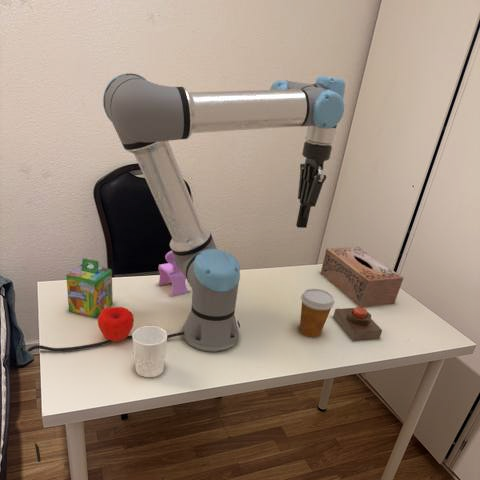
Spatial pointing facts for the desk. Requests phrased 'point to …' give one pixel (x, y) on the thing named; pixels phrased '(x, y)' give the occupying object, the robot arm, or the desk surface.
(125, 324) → the apple
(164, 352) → the white cup
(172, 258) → the toy chair
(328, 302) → the disposable coffee cup
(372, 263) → the tissue box cover
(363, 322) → the console
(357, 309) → the button
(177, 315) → the desk surface
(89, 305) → the chalk box
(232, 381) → the desk surface
